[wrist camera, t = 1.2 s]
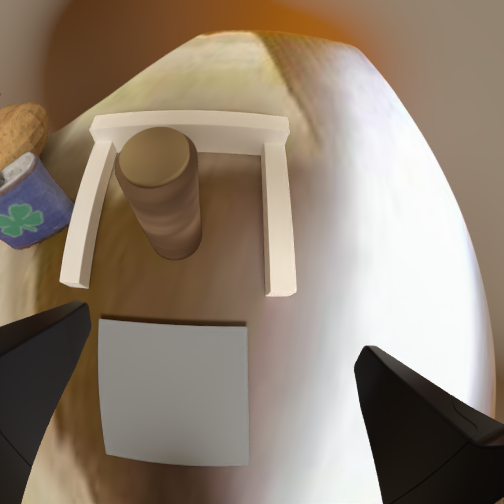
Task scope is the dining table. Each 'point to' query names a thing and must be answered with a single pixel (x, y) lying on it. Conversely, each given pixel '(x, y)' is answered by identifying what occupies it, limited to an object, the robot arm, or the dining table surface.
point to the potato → (22, 131)
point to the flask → (31, 203)
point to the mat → (174, 393)
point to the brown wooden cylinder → (163, 189)
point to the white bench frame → (205, 140)
